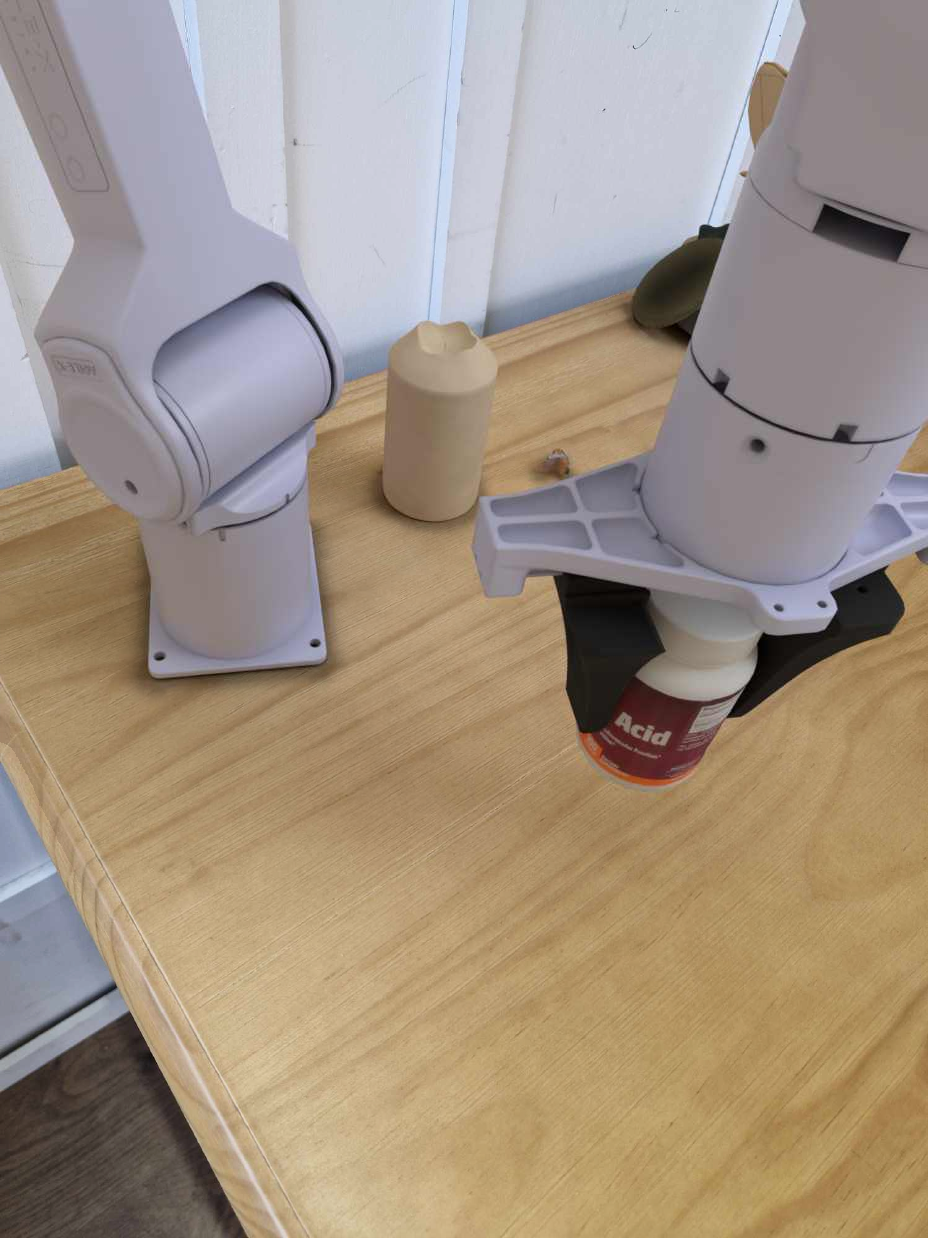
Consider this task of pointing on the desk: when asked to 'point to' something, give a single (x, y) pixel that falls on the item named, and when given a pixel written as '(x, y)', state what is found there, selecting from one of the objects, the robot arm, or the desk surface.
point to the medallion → (676, 283)
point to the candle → (437, 420)
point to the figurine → (557, 462)
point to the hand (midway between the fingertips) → (653, 702)
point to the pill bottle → (676, 694)
